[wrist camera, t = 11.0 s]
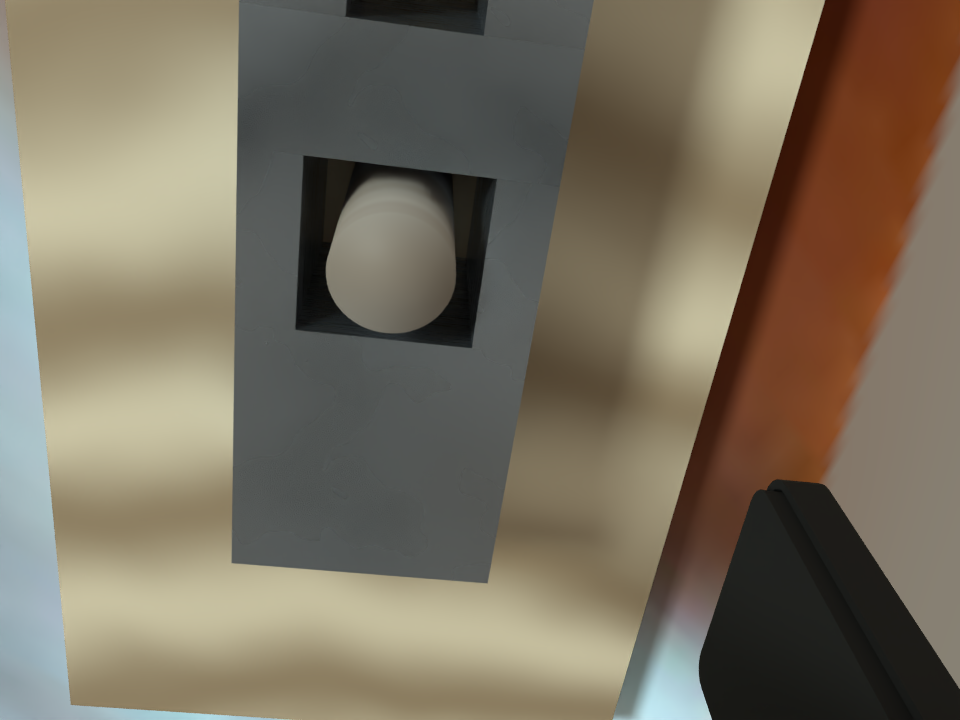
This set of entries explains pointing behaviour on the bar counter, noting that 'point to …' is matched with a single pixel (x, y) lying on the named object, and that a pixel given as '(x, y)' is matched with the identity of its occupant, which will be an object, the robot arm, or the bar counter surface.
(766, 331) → the bar counter surface
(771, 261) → the bar counter surface
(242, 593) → the board
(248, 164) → the grey rectangular block
